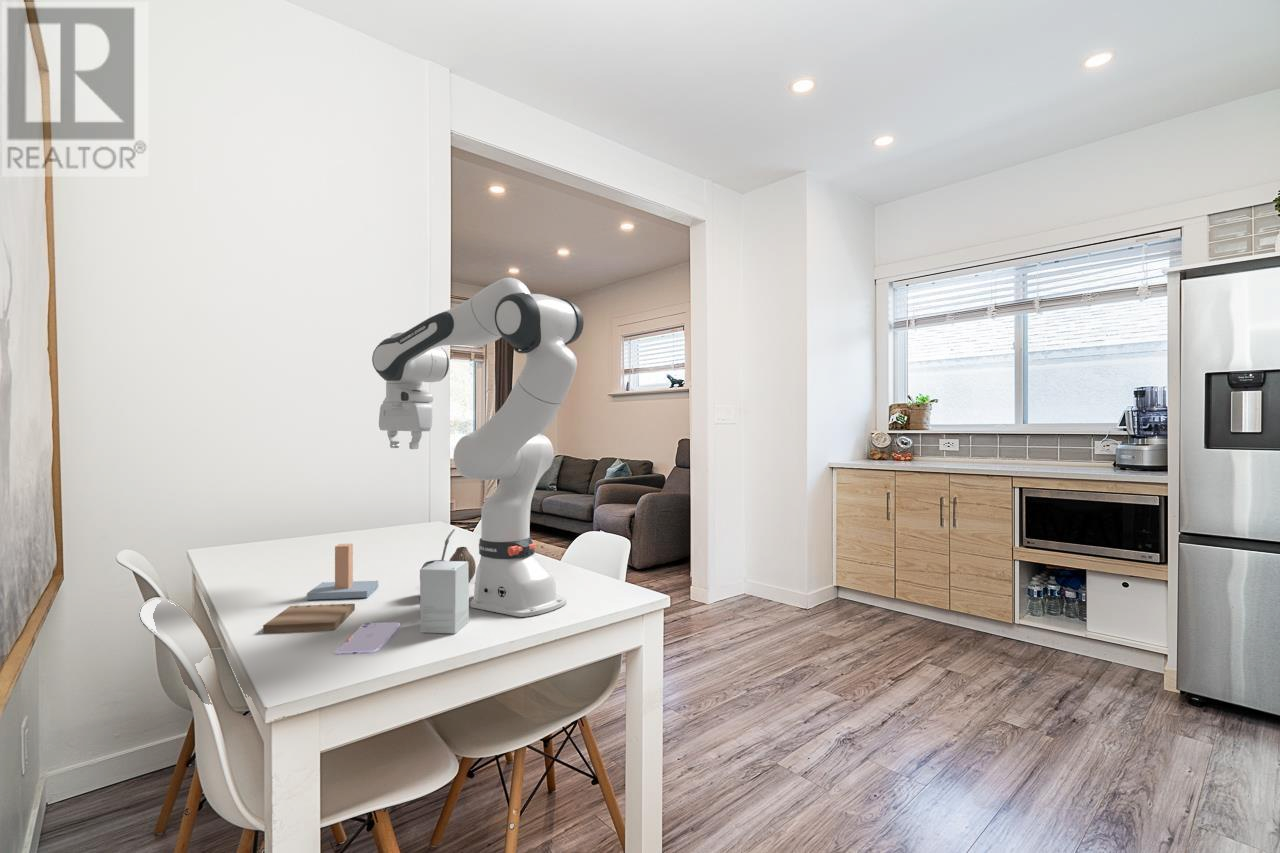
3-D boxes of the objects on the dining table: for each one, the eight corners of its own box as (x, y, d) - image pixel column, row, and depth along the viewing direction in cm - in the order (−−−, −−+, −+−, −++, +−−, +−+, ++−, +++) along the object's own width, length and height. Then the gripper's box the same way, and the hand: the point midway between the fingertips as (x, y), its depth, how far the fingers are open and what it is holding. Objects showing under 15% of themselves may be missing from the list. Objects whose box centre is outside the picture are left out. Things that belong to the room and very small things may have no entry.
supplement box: (469, 621, 121) (470, 560, 121) (455, 634, 113) (455, 569, 113) (435, 620, 121) (435, 559, 121) (418, 633, 114) (418, 568, 114)
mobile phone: (332, 650, 103) (363, 622, 118) (332, 656, 103) (363, 626, 118) (377, 649, 104) (402, 620, 119) (377, 654, 104) (402, 625, 119)
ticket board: (334, 629, 115) (334, 621, 115) (263, 633, 113) (263, 624, 113) (354, 610, 127) (354, 602, 127) (290, 612, 125) (290, 605, 125)
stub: (367, 597, 136) (367, 548, 136) (307, 599, 134) (307, 549, 134) (378, 586, 145) (378, 540, 145) (322, 588, 143) (322, 541, 143)
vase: (481, 580, 152) (481, 546, 152) (460, 586, 146) (460, 551, 146) (463, 576, 155) (463, 543, 155) (441, 582, 150) (441, 548, 150)
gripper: (372, 396, 157) (372, 447, 157) (414, 394, 144) (414, 450, 144) (394, 397, 162) (394, 447, 162) (437, 395, 149) (436, 449, 149)
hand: (404, 448), depth 153 cm, fingers open, 8 cm apart
